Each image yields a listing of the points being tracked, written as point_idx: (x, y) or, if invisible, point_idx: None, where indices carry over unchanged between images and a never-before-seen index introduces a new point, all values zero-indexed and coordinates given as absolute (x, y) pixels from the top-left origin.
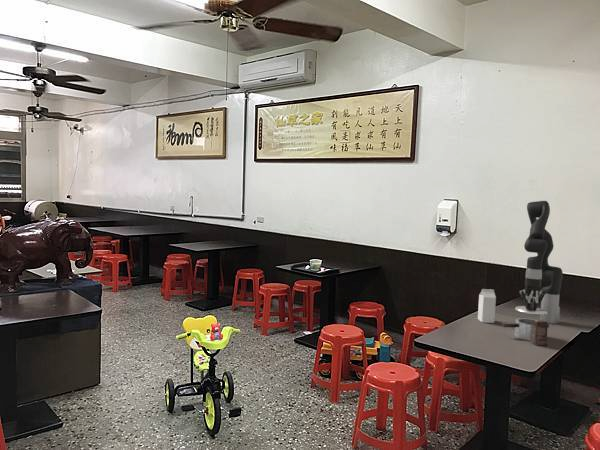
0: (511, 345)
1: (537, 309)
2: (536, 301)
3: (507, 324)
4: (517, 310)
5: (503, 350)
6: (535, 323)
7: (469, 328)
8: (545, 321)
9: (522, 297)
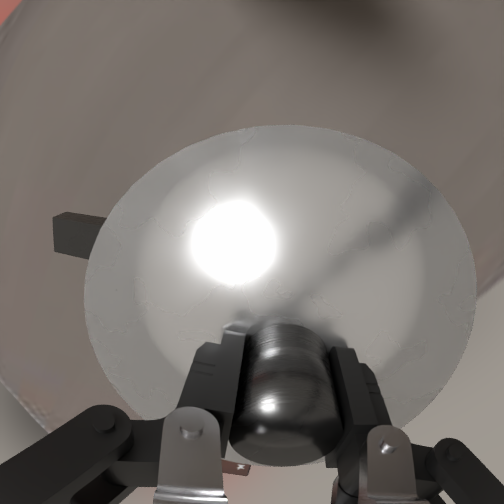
0: (88, 333)
1: (395, 353)
2: (341, 496)
3: (75, 255)
4: (91, 312)
5: (46, 360)
6: None
7: (32, 59)
8: (234, 472)
9: (58, 465)
